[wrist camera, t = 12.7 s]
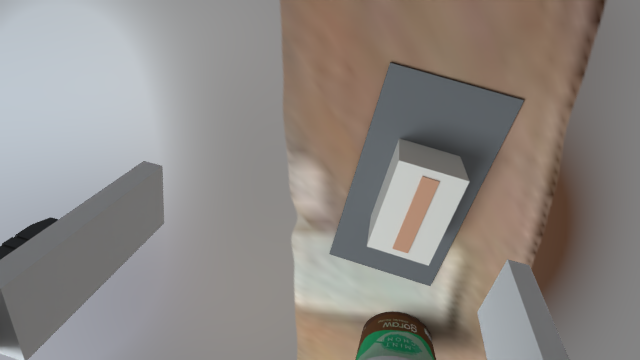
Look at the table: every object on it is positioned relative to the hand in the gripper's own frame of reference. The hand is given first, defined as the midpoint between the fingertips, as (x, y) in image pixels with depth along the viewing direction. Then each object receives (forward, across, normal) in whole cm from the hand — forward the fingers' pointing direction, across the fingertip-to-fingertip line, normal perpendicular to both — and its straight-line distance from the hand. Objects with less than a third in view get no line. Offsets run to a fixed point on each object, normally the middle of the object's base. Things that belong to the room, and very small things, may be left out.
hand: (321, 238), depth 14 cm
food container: (+26, +11, -31) cm, 42 cm away
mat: (+26, +7, -10) cm, 29 cm away
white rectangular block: (+26, +7, -10) cm, 29 cm away
